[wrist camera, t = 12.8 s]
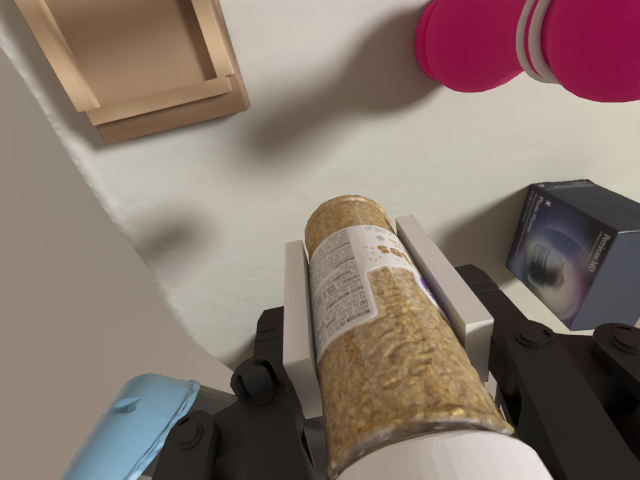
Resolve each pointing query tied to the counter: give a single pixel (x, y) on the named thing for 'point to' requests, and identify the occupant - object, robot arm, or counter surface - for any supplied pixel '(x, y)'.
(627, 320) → the small box
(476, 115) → the counter surface
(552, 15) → the pepper mill
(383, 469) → the sprinkles bottle
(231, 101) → the socket block
